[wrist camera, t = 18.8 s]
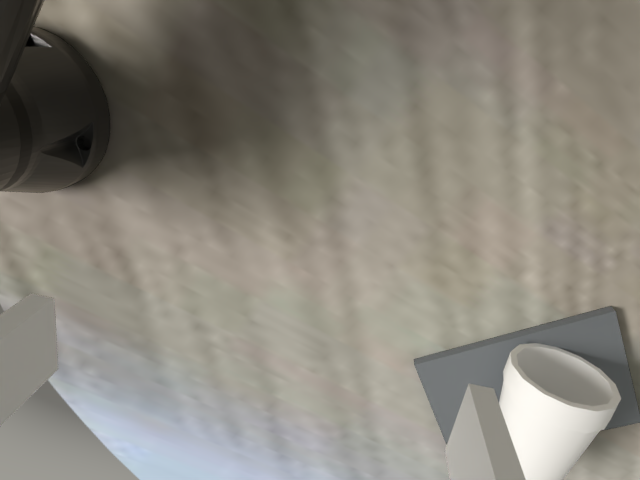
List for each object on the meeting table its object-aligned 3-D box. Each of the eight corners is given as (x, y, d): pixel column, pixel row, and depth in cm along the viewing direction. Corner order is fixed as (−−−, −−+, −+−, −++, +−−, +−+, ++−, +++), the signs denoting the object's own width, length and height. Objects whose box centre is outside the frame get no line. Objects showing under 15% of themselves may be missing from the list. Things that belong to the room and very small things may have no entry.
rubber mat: (452, 455, 55) (453, 462, 54) (413, 359, 51) (414, 364, 50) (636, 415, 51) (641, 422, 50) (610, 306, 47) (615, 311, 46)
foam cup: (460, 481, 47) (500, 374, 42) (483, 427, 54) (519, 331, 49) (562, 539, 42) (620, 428, 38) (572, 472, 50) (621, 373, 45)
